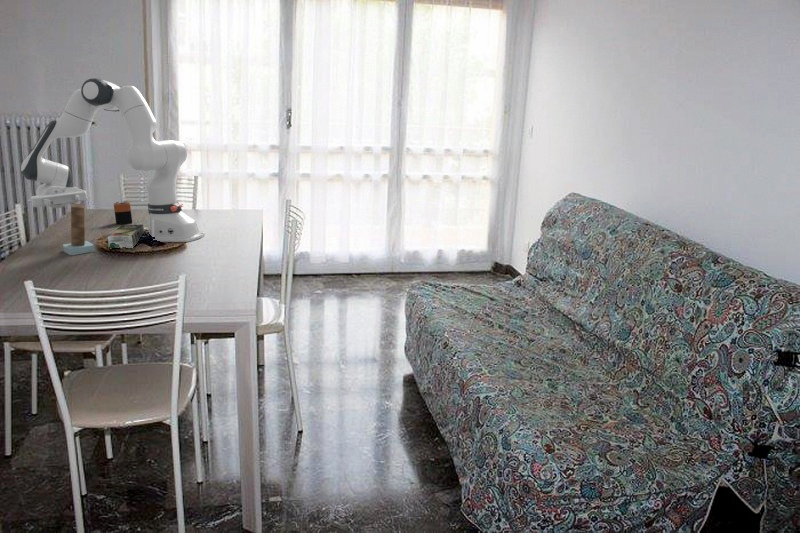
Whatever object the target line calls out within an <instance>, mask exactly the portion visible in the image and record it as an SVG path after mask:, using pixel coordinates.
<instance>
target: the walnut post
mask: <svg viewBox="0 0 800 533" xmlns="http://www.w3.org/2000/svg"><path fill="white" fill-rule="evenodd" d="M70 215H71V216H70V223H71V224H70V226H71V227H70V239H71V240H70V243H71V245H82V246H84V244H85V241H86V204H84V203H83V204H82V203H73V204H71V206H70Z"/></svg>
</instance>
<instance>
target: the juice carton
mask: <svg viewBox="0 0 800 533" xmlns="http://www.w3.org/2000/svg"><path fill="white" fill-rule="evenodd" d="M143 233H144V234H145V227H144V225H143V224H120V226H119V227H118V228H116V229H115V230H114V231H113V232H112V233H110V234H109V235H108V236H107V242H108V244H107V247H108V248H109V247H110V248H117V247H126V248H133V247H134V246H135V245H136V244H137V242H138V241H139V239H140V237H141V236H142V234H143ZM137 245H138V244H137ZM134 248H135V247H134ZM134 248H133V249H134Z"/></svg>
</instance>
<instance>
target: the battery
mask: <svg viewBox="0 0 800 533" xmlns="http://www.w3.org/2000/svg"><path fill="white" fill-rule="evenodd" d="M131 208H132V207H131V203H130V201H128V200H123V201H122V202H120V201H115V202H114V203H113V211H114V216H115V217H114V218H115V224H116V225H131V224H132V223H133V218H132V217H133V216H132V209H131Z"/></svg>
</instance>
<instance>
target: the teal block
mask: <svg viewBox="0 0 800 533" xmlns="http://www.w3.org/2000/svg"><path fill="white" fill-rule="evenodd" d="M95 251H96V249H95V244H93V243H91V242H90V241H88V240H85V244H84V246H82V245H71V242H70V243H66V244H65V243H64V244H62V252H64V253H66V254H68V256H74V255H81V254H87V253H92V252H93V253H94V252H95Z"/></svg>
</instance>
